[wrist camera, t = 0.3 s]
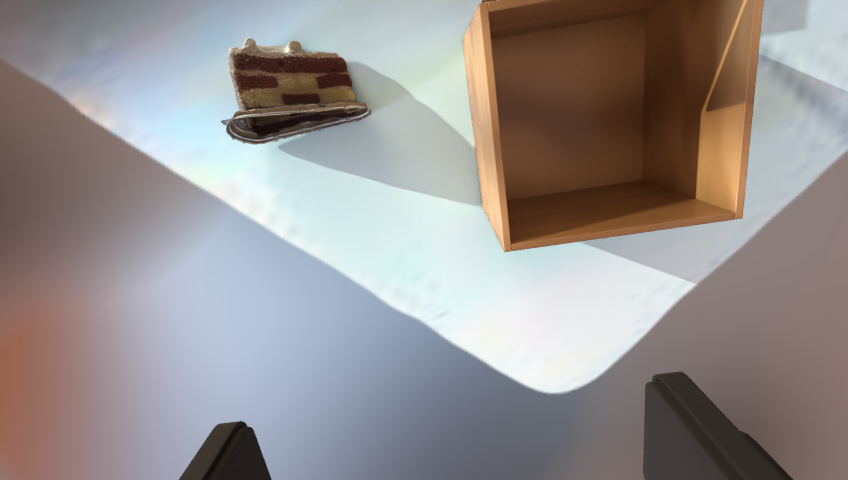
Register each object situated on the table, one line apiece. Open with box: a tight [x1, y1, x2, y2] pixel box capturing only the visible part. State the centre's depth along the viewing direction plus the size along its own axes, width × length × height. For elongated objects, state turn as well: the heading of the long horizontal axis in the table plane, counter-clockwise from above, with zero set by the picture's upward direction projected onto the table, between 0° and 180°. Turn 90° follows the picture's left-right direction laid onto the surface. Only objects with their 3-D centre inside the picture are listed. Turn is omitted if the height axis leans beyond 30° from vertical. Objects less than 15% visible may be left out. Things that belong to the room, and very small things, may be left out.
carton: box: [463, 0, 763, 252], centre depth 30 cm, size 15×16×12 cm
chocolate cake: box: [221, 38, 372, 144], centre depth 34 cm, size 10×7×12 cm
